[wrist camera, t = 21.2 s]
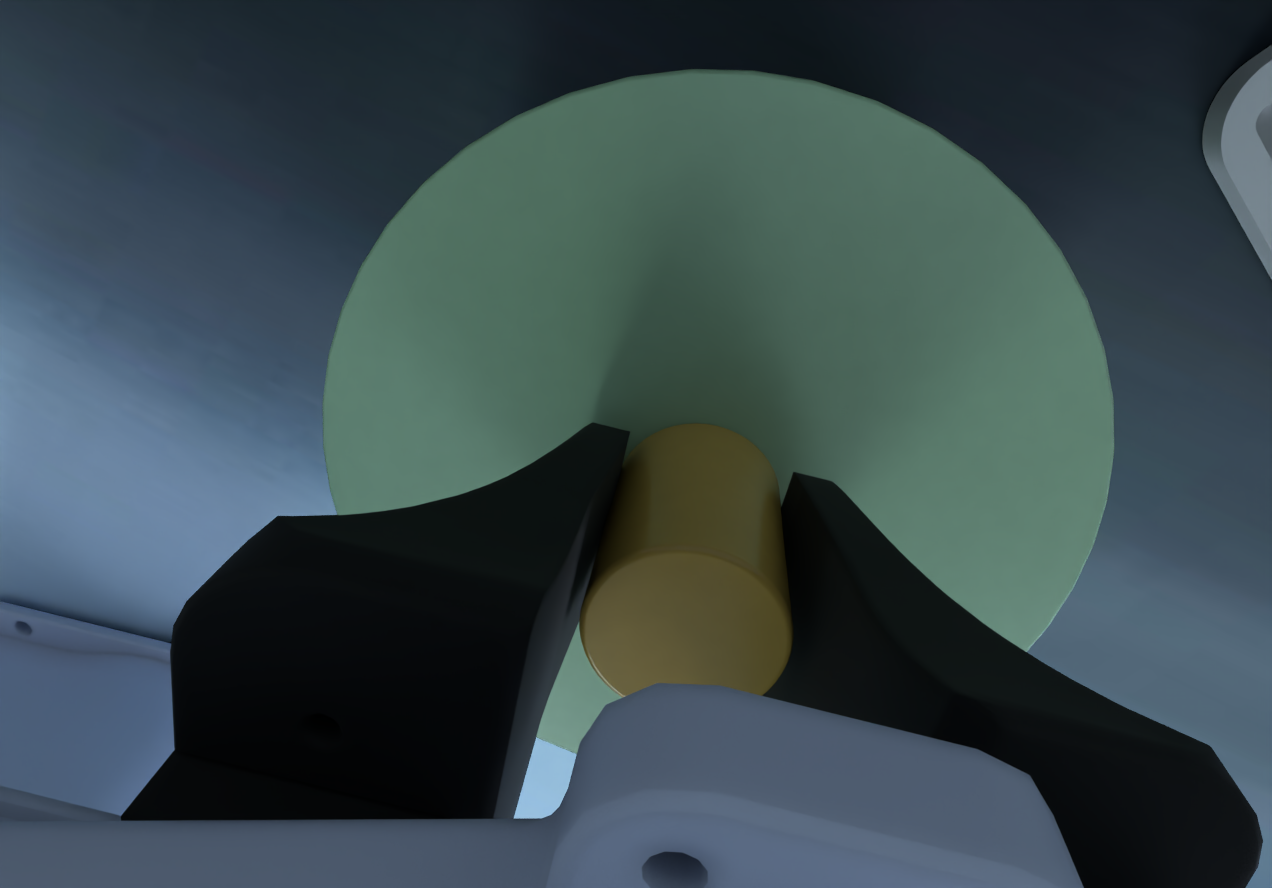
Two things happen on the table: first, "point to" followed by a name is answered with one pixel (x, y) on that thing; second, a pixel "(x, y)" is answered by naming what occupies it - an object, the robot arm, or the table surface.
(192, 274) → the table surface
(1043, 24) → the table surface
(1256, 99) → the phone holder
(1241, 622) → the table surface
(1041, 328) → the lid
